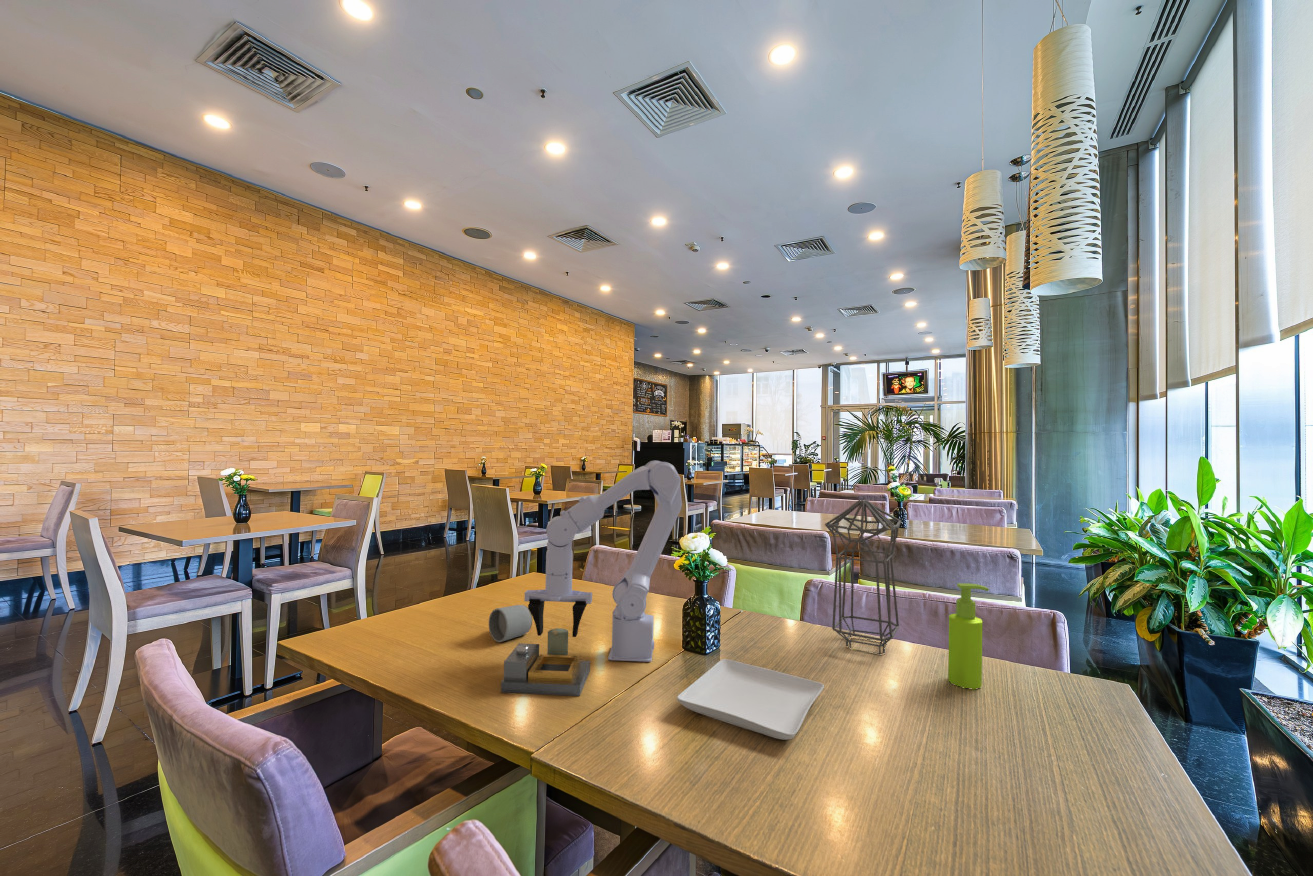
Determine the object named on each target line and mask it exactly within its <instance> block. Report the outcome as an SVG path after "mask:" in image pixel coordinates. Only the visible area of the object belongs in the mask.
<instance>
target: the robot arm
mask: <svg viewBox="0 0 1313 876" xmlns="http://www.w3.org/2000/svg"><path fill="white" fill-rule="evenodd" d="M681 480H682V479H681V476H680V475H679V473H678V471H677V469H676V467H675V466H674V465H673V464H671V463H669V462H667V461H660V460H650V461H649V462H647V463H646V464H645V465H642V466H640V467H638V468H636V469H634V470H633V471H632V472H630V473H629V474H627V475H625V476H624V477H623V478H621V479H620V480H619V481H617V482H615V483H614V484H613V485H612V486H611V487H609V488H607V489H606V490H605V491H604V492H602V493H601V494H599V495H598V496H593V495H588V496H586V497H584V496H581V497H580V498H578V502H577V503H576V504H574V505H573V506H572V507H570V508H568V509H567V510H562V511H560V513H559V514H560V516H559V515H557V516H554V517H552V519H550V520H549V522H548V524H546V525H547V526H546V528H545V533H546V536H547V543H546V549H547V550H546V551H545V552H546V553H545V554H546V555H545V560H546V561H545V589H532V590H531V589H527V590H526V591H525V592H524V598H523V599H524V602H528V604H527V607H528V609H529V611H530V612H531V614H532V620H533V622H534V624H535V627H536V628H535V629H536V633H537V636H538V637H539V636H540V637H541V636H542V634H543V633H544V609H545V602H554V603H555V602H558V603H561V602H562V603H574V604H573V605H572V620H573V621H572V631H571V632H572V633H571V634H572V638H576V637H577V636H578V632H579V627H580V623H581V619H582V617H583V614H584V612H585V610H586V607H587V605H588V604H589V605H591V604H592V602H593V592H592V591H591V592H588V591H581V590H574V589H573V566H574V565H573V561H574V560H573V555H574V551H573V550H572V549H573V546H572V545H573V541H574V539H575V536H576V534H581V532H584V531H585V530H587V529H588V528H590V527H591V526H592V525H594V524H595V523H597V522H599V521H600V520H602V518H604V514H605V512H606V511H605V510H606V509H607V508H608V507H610V506H613V505H614V504H616V503H617V502H618V501H620V500H622V499H623V498H625V497H626V496H628V495H630V494H631V493H633V492H635V491H642V490H643V491H644V490H645V491H647V490H648V491H649V490H651V491H652V493H653V495H654V497H655V500H656V503H657V507H656V510H655V512H654V513H653V516H652V519H651V521H650V523H649V526H648V527H647V530H646V532H645V534H644V536H643V538H642V541H641V543H640V545H639V547H638V550H637V552H636V553H635V556H634V558H633V561H632V563H631V565H630V567H629V569H627V570H626V571H625V572H624V574H623V576H622V578H621V579H620V581H618V582H617V583H616V584H615V586H614V587H613V589H612V594H611V595H612V598H613V601H614V603H615V608H614V609H613V611H612V621H611V622H612V623H611V624H612V628H611V629H612V631H611V633H612V634H611V648H610V651H609V654H608V656H607V660H608V661H619V662H620V661H622V662H624V661H625V662H626V661H627V662H648V663H650V662H652V660H653V652H654V650H655V640H654V623H655V621H654V615H652V614H647V613H645V612H646V611H645V610H646V608H647V597H648V593H649V589H650V582H651V580H650V579H651V577H652V574H653V573H654V570H655V568H656V566H657V564H658V561H659V560H660V557H661V554H662V552H663V551H664V548H665V546H666V543H667V541H668V539H669V537H670V535H671V532H672V530H673V527H674V525H675V523H676V521H677V519H678V517H679V514H680V513H681V510H682V507H683V501H682V491H681V482H682V481H681Z"/></svg>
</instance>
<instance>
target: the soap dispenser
mask: <svg viewBox="0 0 1313 876" xmlns="http://www.w3.org/2000/svg"><path fill="white" fill-rule="evenodd" d="M956 586H957V588H959V589H960V597H959V598H957V599H956V603H955V605H956V606H955V613H952V614H949V615H948V658H947V661H948V666H947V680H948V679H949V680H948V682H949V681H950V682H951V683H950V682H949V683H950V684H952V683H953V684H955V685H954V686H956V685H957V686H956V687H958V686H961V687H964V688H963V689H965V688H972V689H971V690H977V689H976V688H980V687H981V686H982V682H983V681H982V680H983V624H984V623H983V620H982V618H979V617H977V616H976V605H977V604H976V601H975V600H974V599H972V596H971V595H972V590H981V591H985V592H989V591H990V588H988V587H986V586H985V585H981V584H978V583H969V582H968V583H964V582H963V583H962V582H961V583H959V582H958V583H957V584H956ZM953 684H952V685H953ZM961 687H960V688H961ZM982 687H983V686H982ZM982 687H981V688H982ZM981 688H980V689H981Z"/></svg>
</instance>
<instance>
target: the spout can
mask: <svg viewBox="0 0 1313 876" xmlns="http://www.w3.org/2000/svg"><path fill="white" fill-rule="evenodd" d="M546 647H547V652H546V653H547V654H546V655H569V630H568V629H566V628H561V627H560V628H559V627H558V628H552V629H550V630H548V631H547V646H546Z"/></svg>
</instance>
